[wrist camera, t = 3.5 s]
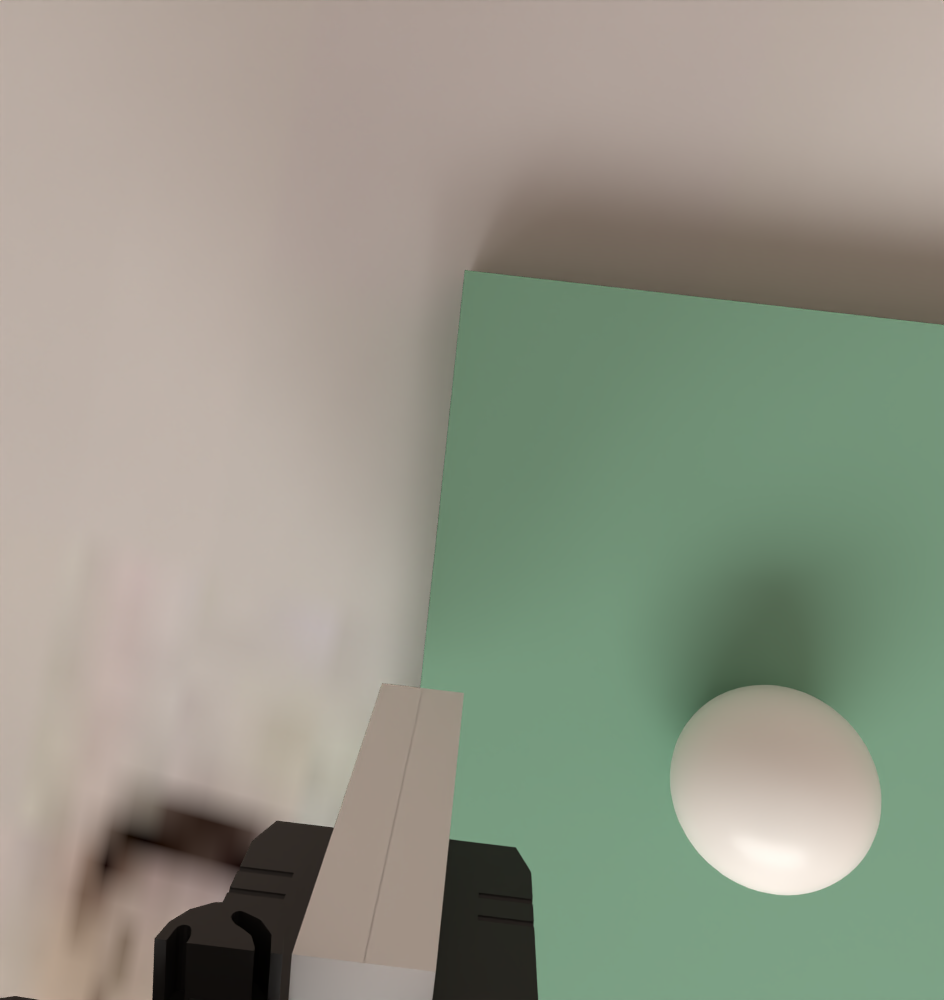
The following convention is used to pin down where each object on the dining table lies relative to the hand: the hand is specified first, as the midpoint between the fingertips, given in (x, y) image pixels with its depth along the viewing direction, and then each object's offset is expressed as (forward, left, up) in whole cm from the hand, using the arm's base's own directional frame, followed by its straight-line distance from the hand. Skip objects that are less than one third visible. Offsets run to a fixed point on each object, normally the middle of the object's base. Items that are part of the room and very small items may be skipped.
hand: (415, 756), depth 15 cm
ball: (+7, 0, -1) cm, 7 cm away
